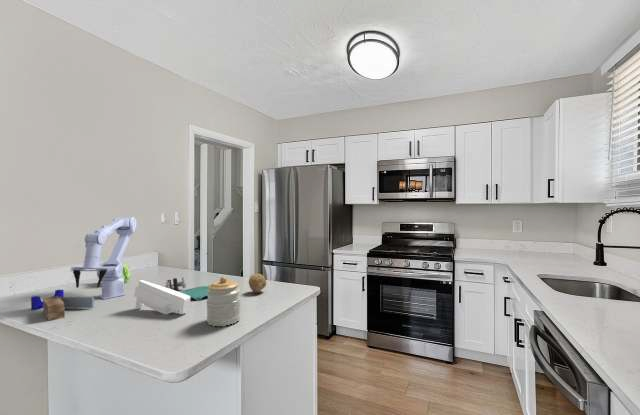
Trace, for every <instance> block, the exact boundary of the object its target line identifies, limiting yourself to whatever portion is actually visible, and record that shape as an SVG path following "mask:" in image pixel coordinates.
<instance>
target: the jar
mask: <svg viewBox="0 0 640 415" xmlns="http://www.w3.org/2000/svg"><path fill="white" fill-rule="evenodd" d="M208 286H209V287H208V288H209V291H207V292H206V295H207V296H208V297H207V300H206V301H205V303H206V321H207V322H206V323H207V325H208V326H210V325H212V326H211V327H215V326H222V327H227V326H226V325H229V326H231V325H230V324H232V325H234V324H233V323H235V324H236V322H237V321H238V322H240V321H241V316H242V313H241V296H240V293H241V289H240V287H239V283H238V282H236V281H234V280H232V279H227V277H226V276H221V277H220V278H219V280H217V281H213V282H212V283H211V284H210V285H209V284H208ZM238 322H237V323H238Z"/></svg>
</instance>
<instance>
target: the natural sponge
mask: <svg viewBox="0 0 640 415" xmlns="http://www.w3.org/2000/svg"><path fill="white" fill-rule="evenodd" d="M248 285H249V288H250V290H251V291H252V292H253V293H255V294H259V293H260V292H261V291H262V290H263V289H265V287H266V286H267V280H266V278H265V276H264V275H262V274H261V273H254V274H252V275H251V276H250V277H249V278H248Z"/></svg>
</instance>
